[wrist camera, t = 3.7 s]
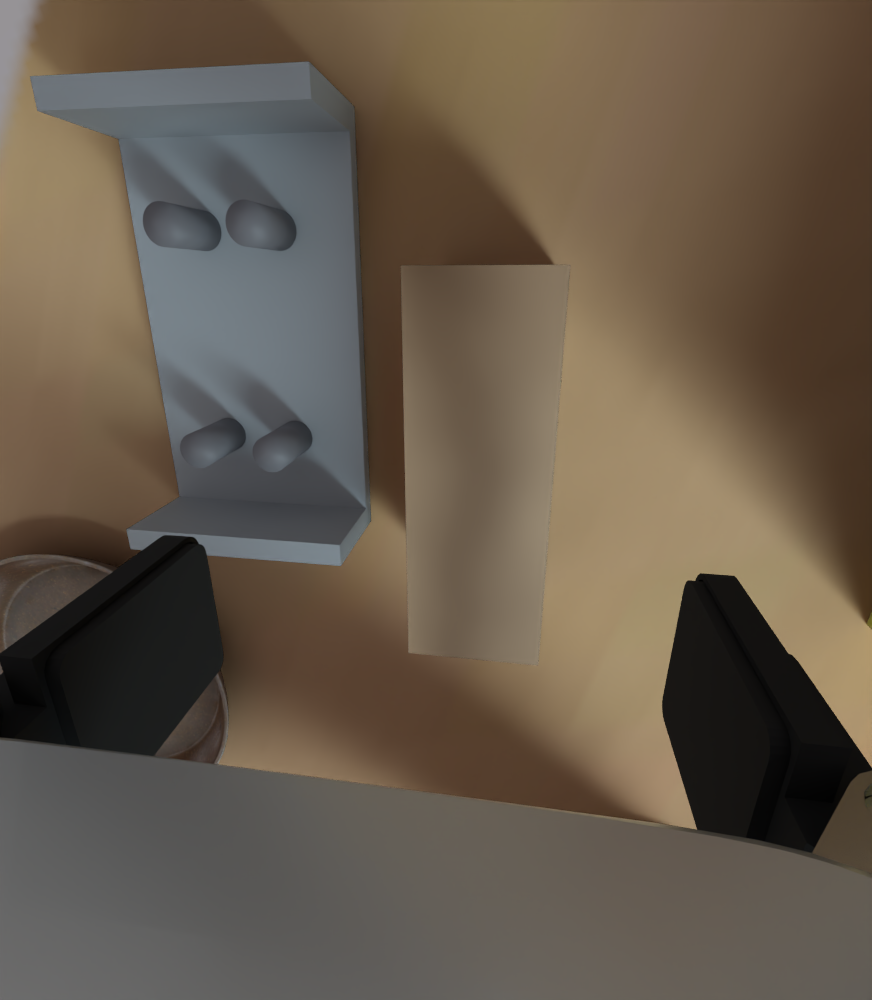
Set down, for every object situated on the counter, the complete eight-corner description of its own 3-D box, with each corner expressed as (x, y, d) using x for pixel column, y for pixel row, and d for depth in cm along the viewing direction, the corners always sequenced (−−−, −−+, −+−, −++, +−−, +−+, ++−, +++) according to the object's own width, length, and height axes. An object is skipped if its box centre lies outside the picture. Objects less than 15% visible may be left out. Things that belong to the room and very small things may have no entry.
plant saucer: (39, 474, 32) (-9, 493, 29) (300, 651, 33) (279, 685, 30) (-41, 669, 38) (-87, 699, 35) (180, 808, 40) (153, 848, 37)
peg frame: (354, 106, 22) (309, 61, 18) (370, 520, 29) (340, 566, 24) (126, 116, 24) (30, 76, 19) (191, 508, 30) (130, 549, 26)
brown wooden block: (557, 269, 24) (570, 265, 16) (535, 566, 29) (537, 665, 21) (439, 270, 24) (400, 265, 17) (438, 559, 29) (408, 652, 22)
